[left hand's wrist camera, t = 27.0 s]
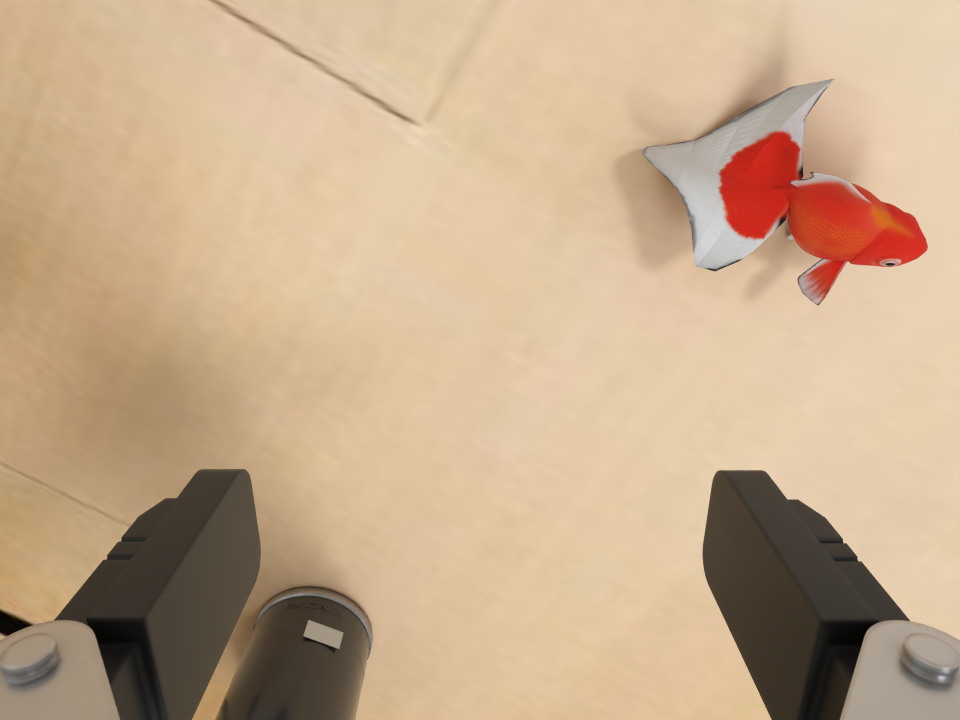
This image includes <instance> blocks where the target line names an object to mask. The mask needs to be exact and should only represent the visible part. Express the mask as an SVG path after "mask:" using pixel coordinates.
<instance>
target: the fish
mask: <svg viewBox="0 0 960 720" xmlns="http://www.w3.org/2000/svg"><path fill="white" fill-rule="evenodd" d="M833 80H834V79H831V80H826V81H820V82H815V83H810V84H805V85H800V86H794V87H791V88H789V89H787V90H785V91H783V92H781V93H779V94H777V95H775V96H773V97H771V98H769V99H768V100H766V101H764V102H762V103H760V104H758V105H756V106H754V107H752V108H750V109H748V110H747V111H745V112H743V113H742V114H740V115H738V116H737V117H735V118H734V119H732V120H730V121H729V122H727V123H725V124H724V125H722V126H721V127H719V128H717V129H715V130H713V131H712V132H710V133H708V134H706V135H704V136H702V137H701V138H699V139H697V140H694V141H688V142H681V143H675V144H669V145H663V146H649V147H646V148H645V149H644V151H643V153H642V154H643V155H644V156H645V158H646V159H647V160H648V161H649V162H651V163H652V164H653V165H654V166H655V167H656V168H657V169H658V170H659V171H660V172H661V173H662V174H663V175H664V176H665V177H666V178H667V179H668V180H669V181H670V182H671V183H672V184H673V185H674V186H675V187H676V188H677V190H678V192H679V194H680V196H681V198H682V200H683V202H684V204H685V205H686V209H687V213H688V216H689V220H690V224H691V228H692V239H693V251H694V259H695V266H697V267H701V268H704V269H708V270H712V271H717V270H719V269H722V268H724V267H726V266H729V265H731V264H733V263H736V262H738V261H740V260H741V259H743V258H744V257H746V256H747V255H748V254H750V253H751V252H753V251H754V250H755V249H756V248H757V247H758V246H760V245H761V244H762V243H763V242H764V241H765V240H766V239H767V238H768V237H769V236H770V235H771V234H772V233H773V232H774V231H775V230H776V229H777V228H778V227H779V226H780V225H781V224H782V223H783V222H784V221H785V220H786V217H787V214H788V220H789V227H790V231H791V234H790V235H789V236H788V237H787V239H788V240H795V241H796V242H797V244H798V245H799V246H800V247H801V248H802V249H803V250H804V251H805V252H807V253H809V254H811V255H814V256H816V257H819V258H822V259H821V260H820V261H818V262H817V263H816V264H814V265H813V266H812V267H811V268H809V269H808V270H807V271H805V272H804V273H803V274H801V275H800V276H799V277H798V284H799V286H800V288H801V290H802V292H803V294H805V295H806V296H807V297H808V298H809V299H810V300H811V301H812V302H814V303H815V304H817V305H819V304H820V303H821V302H822V301H823V299H824V298H825V297H826V295H827V294H828V292H829V290H830V289H831V287H832V286H833V284H834V282H835V280H836V279H837V277H838V275H839V273H840V272H841V270H842V269H843V267H844V265H845V264H846V262H847V261H849V262H850V263H851V264H855V265H871V266H882V267H893V266H899V265H902V264H905V263H908V262H910V261H912V260H915V259H917V258H918V257H920V256H921V255H922V254H923V253H925V252H926V251H927V248H928V245H927V242H926V239H925V237H924V235H923V233H922V231H921V229H920V227H919V225H918V223H917V221H916V219H915V217H914V216H913V215H911V214H909V213H905V212H903V211H902V210H900V209H899V208H897V207H896V206H894V205H891V204H888V203H884V202H881V201H880V200H879V199H878V198H876V197H875V196H874V195H873V194H872V193H870V192H869V191H867V190H866V189H864V188H862V187H860V186H857V185H855V184H852V183H850V182H849V181H847V180H844V179H842V178H839V177H836V176H832V175H827V174H821V173H815V172H810V173H811V174H812V177H811V178H809V179H802V177H803V162H802V144H803V138H804V127H805V118H806V116H807V115H808V113H809V112H810V110H811V109H812V107H813V106H814V105H815V103H816V102H817V100H818V99H819V97H820V96H821V95H822V93H823V92H824V91H825V89H826V88H827V87H828V86H829V85H830V84H831V83H832V81H833ZM801 179H802V180H801Z"/></svg>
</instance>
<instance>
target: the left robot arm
mask: <svg viewBox="0 0 960 720" xmlns="http://www.w3.org/2000/svg"><path fill="white" fill-rule="evenodd" d="M260 557H261V548H260V539H259V532H258V525H257V518H256V511H255V504H254V498H253V491H252V484H251V479H250V476H249V473H248V472H247V471H246V470H244V469H201V470H199V471H197V473H196V474H195V475H194V476H193V478H192V479H191V480H190V482H189V483H188V484H187V486H186V487H185V488H184V489H183V491H182V492H181V493H180V495H179V496H178V497H177V498H166V499H164V500H163V501H161V502H160V503H158V504H157V505H155V506H154V507H152V508H151V509H149V510H148V511H146V512H145V513H143V514H142V515H140V516H139V517H138V518H137V519H136V521H135V522H134V523H133V524H132V526H131V527H130V528H129V529H128V530H127V532H126V533H125V534H124V535H123V537H122V541H121V542H118V543H117V544H116V545H115V546H114V548H113V549H112V550H111V551H110V553H109V554H108V555H107V560H103V561H102V562H101V564H100V565H99V566H98V567H97V568H96V570H95V571H94V572H93V573H92V575H91V576H90V577H89V578H88V579H87V581H86V582H85V583H84V584H83V586H82V587H81V588H80V589H79V591H78V592H77V593H76V594H75V595H74V597H73V598H72V599H71V600H70V602H69V603H68V604H67V605H66V606H65V608H64V609H63V610H62V611H61V613H60V614H59V615H58V616H57V618H56V619H55V620H54V621H49V622H44V623H40V624H36V625H33V626H30V627H27V628H25V629H22V630H20V631H18V632H15V633H13V634H11V635H9V636H8V637H6V638H4V639H2V640H1V641H0V720H192V718H193V716H194V714H195V712H196V709H197V707H198V705H199V703H200V701H201V699H202V696H203V694H204V692H205V690H206V688H207V686H208V684H209V681H210V679H211V677H212V675H213V673H214V671H215V668H216V666H217V664H218V662H219V660H220V658H221V655H222V653H223V651H224V649H225V647H226V645H227V643H228V640H229V638H230V636H231V634H232V632H233V630H234V627H235V625H236V623H237V621H238V619H239V617H240V615H241V612H242V610H243V608H244V606H245V604H246V602H247V599H248V597H249V595H250V593H251V591H252V589H253V586H254V584H255V582H256V579H257V576H258V572H259V566H260ZM703 565H704V571H705V576H706V579H707V582H708V585H709V587H710V589H711V591H712V593H713V595H714V598H715V600H716V602H717V604H718V606H719V608H720V610H721V612H722V615H723V617H724V619H725V621H726V623H727V625H728V627H729V630H730V632H731V634H732V636H733V638H734V640H735V642H736V644H737V647H738V649H739V651H740V653H741V655H742V657H743V659H744V662H745V664H746V666H747V668H748V670H749V672H750V674H751V676H752V679H753V681H754V683H755V685H756V687H757V689H758V691H759V693H760V696H761V698H762V700H763V702H764V704H765V706H766V708H767V711H768V713H769V715H770V717H771V719H772V720H960V641H959V640H958V639H956V638H954V637H952V636H951V635H949V634H947V633H945V632H942V631H940V630H938V629H935V628H933V627H930V626H927V625H924V624H920V623H916V622H911V621H910V620H909V619H908V618H907V617H906V615H905V614H904V613H903V612H902V610H901V609H900V608H899V607H898V606H897V604H896V603H895V602H894V601H893V599H892V598H891V597H890V596H889V595H888V593H887V592H886V591H885V590H884V589H883V587H882V586H881V585H880V584H879V582H878V581H877V580H876V579H875V578H874V576H873V575H872V574H871V573H870V572H869V570H868V569H867V568H866V567H865V565H864V564H863V563H862V562H861V561H858V560H857V556H856V554H855V553H854V552H853V551H852V550H851V548H850V547H849V546H848V545H847V544H846V543H843V539H842V537H841V536H840V535H839V534H838V533H837V531H836V530H835V529H834V528H833V527H832V525H831V524H830V523H829V522H828V520H827V519H826V518H825V517H823V516H822V515H820V514H819V513H817V512H816V511H814V510H813V509H811V508H810V507H808V506H807V505H805V504H804V503H802V502H801V501H799V500H787V498H786V497H785V496H784V495H783V493H782V492H781V491H780V489H779V488H778V487H777V485H776V484H775V483H774V481H773V480H772V479H771V478H770V476H769V475H768V474H767V473H766V472H765V471H762V470H720V471H718V472H716V474H715V476H714V478H713V482H712V488H711V495H710V502H709V509H708V515H707V522H706V529H705V536H704V542H703ZM371 645H372V629H371V625H370V623H369V620H368V618H367V617H366V615H365V614H364V612H363V611H362V610H361V609H360V608H359V607H358V606H357V605H356V604H355V603H354V602H352V601H351V600H350V599H348V598H346V597H345V596H343V595H341V594H338V593H336V592H333V591H330V590H326V589H321V588H297V589H292V590H289V591H286V592H283V593H281V594H279V595H277V596H275V597H274V598H272V599H271V600H270V601H269V602H268V603H267V604H266V605H265V606H264V607H263V608H262V610H261V611H260V613H259V616H258V618H257V620H256V623H255V625H254V629H253V633H252V635H251V638H250V640H249V642H248V645H247V647H246V649H245V651H244V653H243V656H242V658H241V660H240V663H239V665H238V667H237V670H236V672H235V675H234V677H233V679H232V682H231V684H230V686H229V689H228V691H227V693H226V696H225V698H224V700H223V703H222V705H221V707H220V710H219V712H218V714H217V717H216V719H215V720H355V718H356V713H357V708H358V703H359V698H360V693H361V688H362V683H363V679H364V674H365V669H366V663H367V660H368V657H369V655H370V650H371Z"/></svg>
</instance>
